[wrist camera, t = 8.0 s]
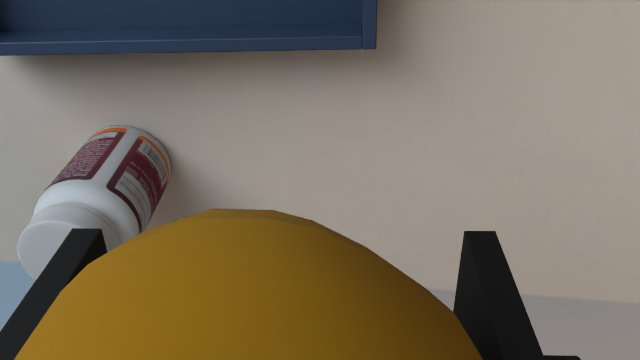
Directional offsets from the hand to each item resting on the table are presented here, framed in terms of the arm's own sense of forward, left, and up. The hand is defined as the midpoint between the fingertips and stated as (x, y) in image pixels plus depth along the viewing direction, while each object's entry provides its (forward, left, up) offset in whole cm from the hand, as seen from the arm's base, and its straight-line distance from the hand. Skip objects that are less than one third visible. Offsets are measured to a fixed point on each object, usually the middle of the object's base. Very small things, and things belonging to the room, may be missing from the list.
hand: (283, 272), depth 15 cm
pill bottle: (-10, -5, -15) cm, 19 cm away
